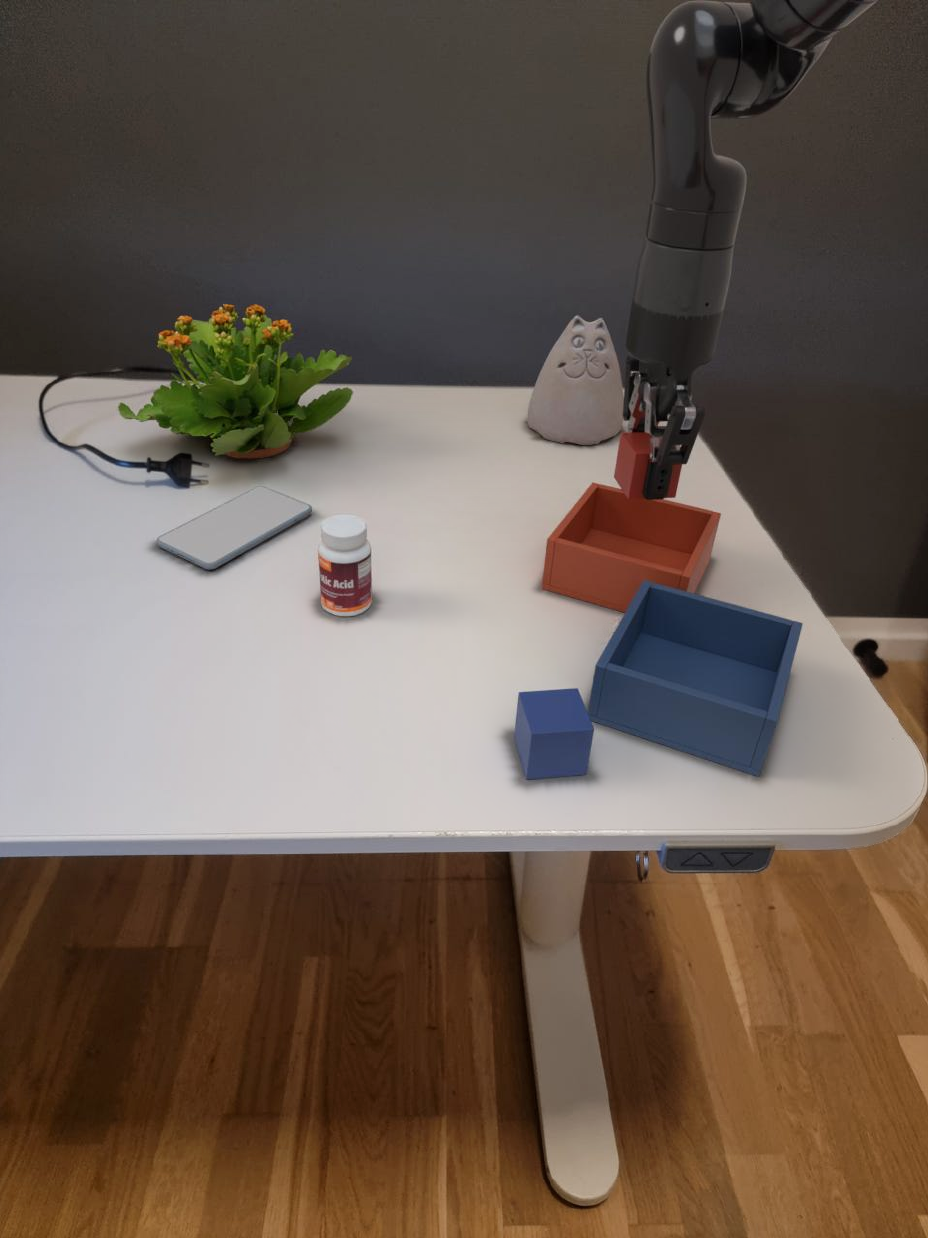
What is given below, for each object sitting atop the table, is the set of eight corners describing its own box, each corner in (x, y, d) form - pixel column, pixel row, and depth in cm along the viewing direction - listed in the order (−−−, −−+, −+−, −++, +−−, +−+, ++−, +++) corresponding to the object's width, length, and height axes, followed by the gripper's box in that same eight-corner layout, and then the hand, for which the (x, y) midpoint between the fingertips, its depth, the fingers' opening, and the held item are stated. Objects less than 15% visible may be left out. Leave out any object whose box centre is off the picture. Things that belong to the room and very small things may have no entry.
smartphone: (152, 538, 87) (260, 483, 97) (153, 547, 88) (261, 491, 98) (209, 566, 83) (315, 506, 93) (210, 574, 84) (316, 514, 94)
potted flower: (250, 392, 122) (236, 262, 112) (393, 430, 113) (392, 293, 103) (114, 456, 104) (83, 307, 94) (272, 507, 95) (256, 350, 85)
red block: (659, 475, 84) (667, 431, 81) (675, 498, 80) (685, 452, 77) (613, 477, 83) (620, 432, 80) (627, 499, 79) (635, 453, 77)
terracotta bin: (709, 560, 90) (721, 512, 87) (678, 628, 80) (690, 577, 77) (585, 528, 94) (592, 481, 91) (541, 588, 84) (546, 539, 81)
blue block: (571, 732, 68) (578, 687, 65) (586, 775, 64) (594, 729, 61) (513, 736, 67) (518, 691, 64) (526, 780, 63) (531, 734, 61)
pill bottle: (311, 610, 80) (305, 530, 75) (336, 584, 83) (332, 507, 78) (357, 623, 78) (354, 543, 73) (381, 596, 82) (379, 518, 77)
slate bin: (785, 675, 75) (803, 622, 72) (758, 777, 65) (777, 721, 61) (633, 630, 79) (643, 579, 76) (586, 719, 69) (595, 664, 66)
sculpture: (562, 454, 110) (576, 335, 101) (509, 421, 118) (518, 308, 109) (638, 436, 115) (658, 322, 107) (583, 405, 123) (598, 297, 115)
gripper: (757, 325, 66) (711, 520, 76) (690, 275, 78) (657, 451, 88) (664, 325, 65) (629, 523, 75) (610, 275, 76) (585, 453, 86)
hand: (644, 483), depth 81 cm, fingers closed on red block, 4 cm apart
